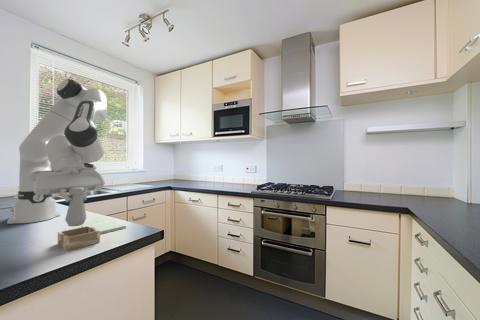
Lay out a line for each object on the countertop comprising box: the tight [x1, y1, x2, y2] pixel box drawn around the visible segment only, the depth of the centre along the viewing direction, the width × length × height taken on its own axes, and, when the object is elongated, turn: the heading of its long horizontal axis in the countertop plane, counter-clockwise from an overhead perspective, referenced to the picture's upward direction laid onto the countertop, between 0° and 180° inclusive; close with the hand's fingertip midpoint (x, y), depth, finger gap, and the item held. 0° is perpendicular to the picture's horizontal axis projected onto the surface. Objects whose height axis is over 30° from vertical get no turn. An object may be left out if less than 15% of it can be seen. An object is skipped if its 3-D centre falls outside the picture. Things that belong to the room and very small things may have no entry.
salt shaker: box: [65, 187, 87, 228], centre depth 76 cm, size 6×6×13 cm
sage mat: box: [80, 219, 127, 235], centre depth 92 cm, size 14×12×1 cm
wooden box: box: [57, 226, 101, 252], centre depth 76 cm, size 10×10×4 cm
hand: (77, 200), depth 75 cm, fingers closed on salt shaker, 3 cm apart
